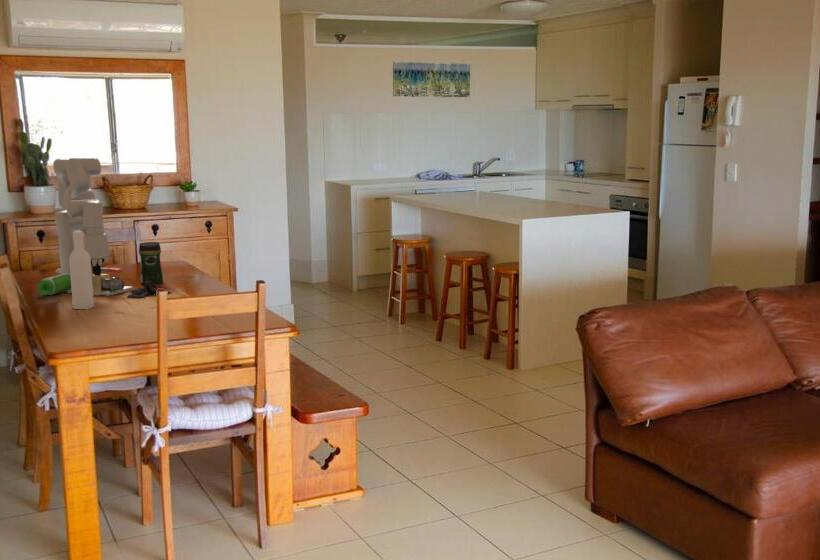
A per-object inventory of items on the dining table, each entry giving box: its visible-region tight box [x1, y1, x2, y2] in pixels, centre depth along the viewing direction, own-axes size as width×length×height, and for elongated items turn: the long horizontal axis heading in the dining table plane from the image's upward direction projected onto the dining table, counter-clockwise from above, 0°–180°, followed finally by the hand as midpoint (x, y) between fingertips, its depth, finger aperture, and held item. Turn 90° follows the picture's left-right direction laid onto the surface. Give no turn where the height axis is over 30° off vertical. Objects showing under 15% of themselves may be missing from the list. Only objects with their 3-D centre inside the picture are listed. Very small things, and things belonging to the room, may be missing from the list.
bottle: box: [69, 230, 95, 310], centre depth 341 cm, size 8×8×30 cm
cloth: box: [126, 281, 173, 299], centre depth 371 cm, size 22×19×6 cm
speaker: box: [37, 273, 71, 296], centre depth 375 cm, size 18×7×8 cm, turn 168°
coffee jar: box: [138, 241, 164, 285], centre depth 395 cm, size 10×8×19 cm
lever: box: [100, 266, 123, 274], centre depth 374 cm, size 14×4×3 cm, turn 61°
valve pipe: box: [65, 273, 134, 297], centre depth 377 cm, size 23×16×7 cm
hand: (97, 274), depth 365 cm, fingers closed
